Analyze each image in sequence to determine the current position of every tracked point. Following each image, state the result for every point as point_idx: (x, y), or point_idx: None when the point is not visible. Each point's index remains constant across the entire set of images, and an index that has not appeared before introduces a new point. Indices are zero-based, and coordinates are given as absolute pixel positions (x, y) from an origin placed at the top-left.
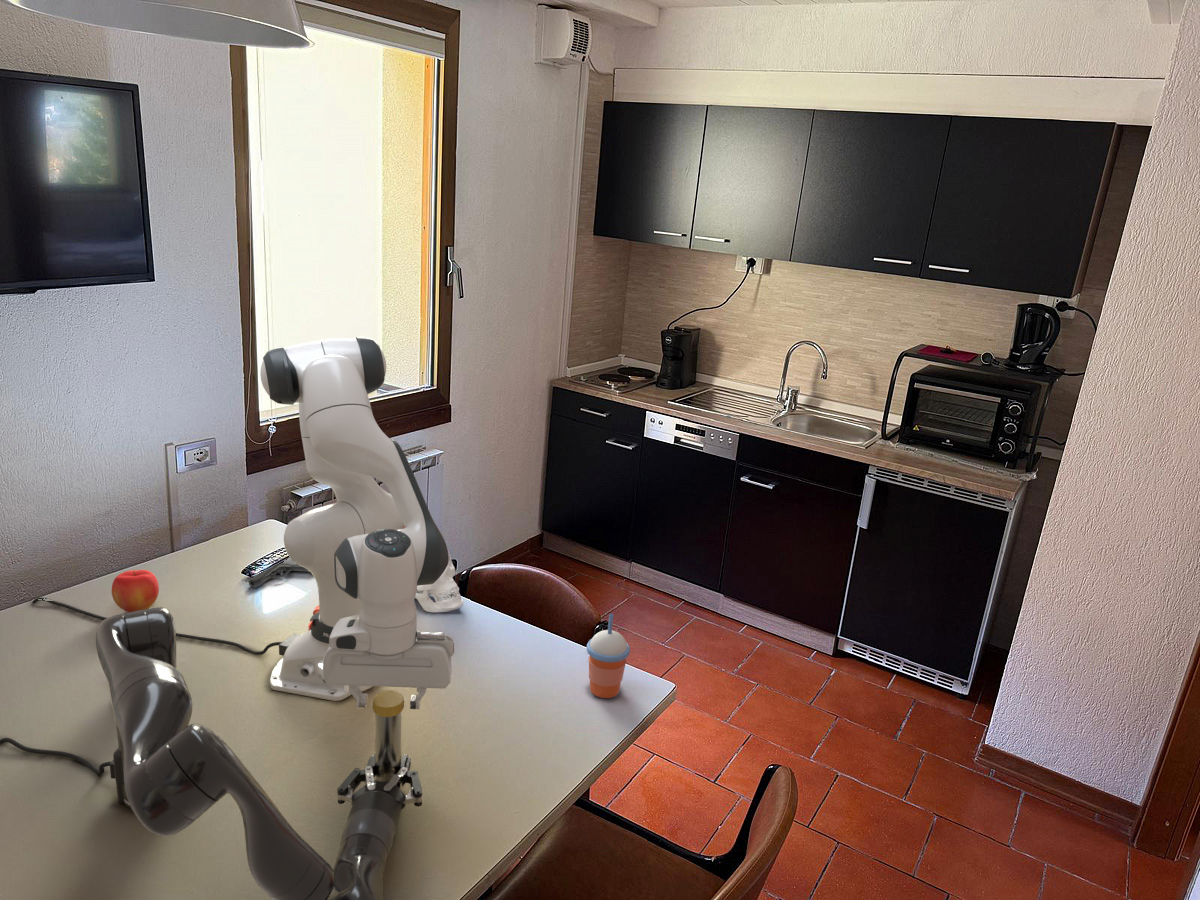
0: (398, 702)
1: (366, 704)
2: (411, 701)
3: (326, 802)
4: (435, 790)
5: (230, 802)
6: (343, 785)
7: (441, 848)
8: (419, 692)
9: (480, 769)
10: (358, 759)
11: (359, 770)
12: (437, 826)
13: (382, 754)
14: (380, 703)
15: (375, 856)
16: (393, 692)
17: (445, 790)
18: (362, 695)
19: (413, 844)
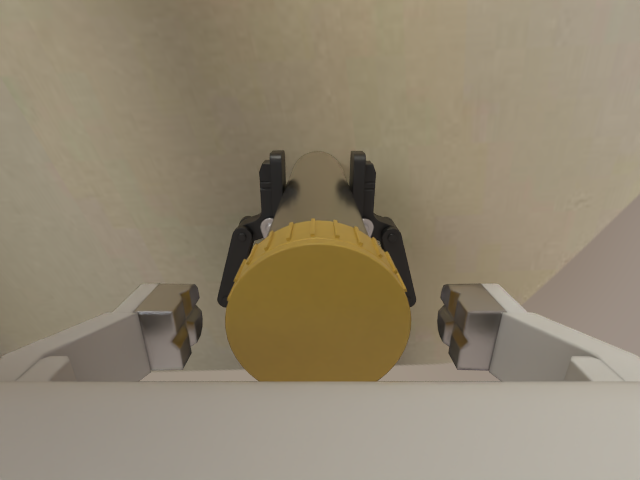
0: (384, 358)
1: (197, 300)
2: (465, 368)
3: (194, 189)
4: (415, 141)
5: (5, 197)
6: (227, 288)
7: (429, 292)
8: (545, 378)
9: (525, 56)
10: (213, 28)
11: (249, 235)
12: (421, 244)
13: None
14: (281, 370)
15: None
16: (337, 264)
17: (437, 140)
18: (149, 334)
19: None
